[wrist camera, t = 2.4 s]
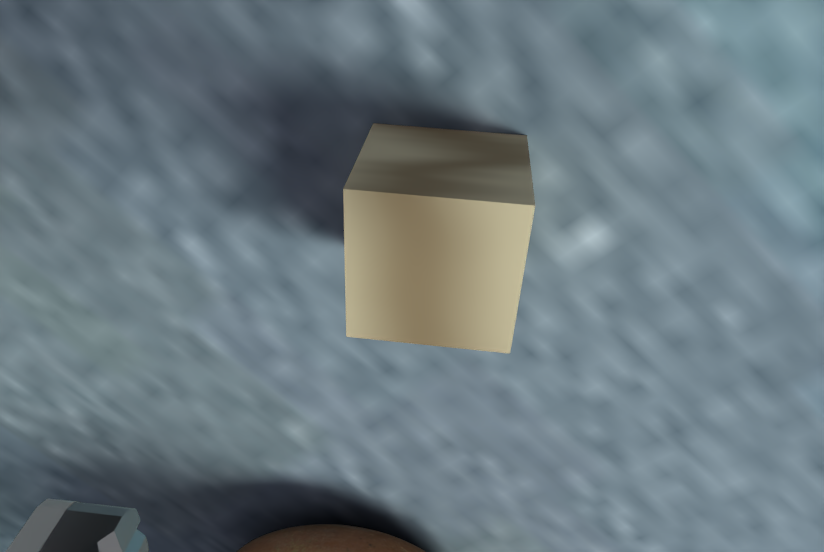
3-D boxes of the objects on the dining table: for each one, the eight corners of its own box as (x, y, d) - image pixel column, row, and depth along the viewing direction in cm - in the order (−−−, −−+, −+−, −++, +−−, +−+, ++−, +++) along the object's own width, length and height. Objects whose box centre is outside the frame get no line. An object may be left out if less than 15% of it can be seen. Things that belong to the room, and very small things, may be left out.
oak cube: (526, 134, 20) (535, 205, 16) (506, 264, 23) (509, 353, 19) (373, 122, 20) (343, 189, 16) (372, 251, 23) (346, 336, 19)
